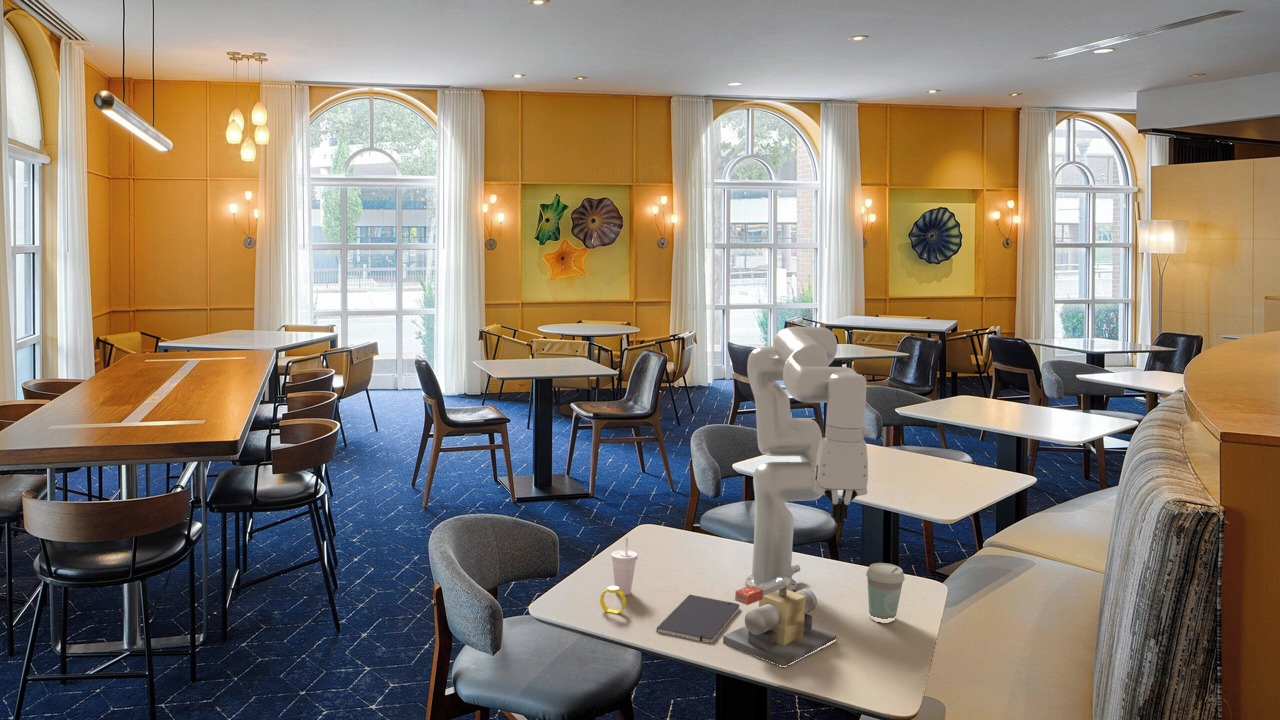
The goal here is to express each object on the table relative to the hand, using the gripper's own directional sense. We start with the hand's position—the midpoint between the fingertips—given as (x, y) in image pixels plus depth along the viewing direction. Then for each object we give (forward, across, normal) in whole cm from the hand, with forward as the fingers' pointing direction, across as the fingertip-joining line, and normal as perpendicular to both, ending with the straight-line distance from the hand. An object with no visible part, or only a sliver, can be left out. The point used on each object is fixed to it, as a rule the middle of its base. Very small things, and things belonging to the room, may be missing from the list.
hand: (838, 521), depth 191 cm
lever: (+17, +14, -2) cm, 22 cm away
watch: (+29, +46, -19) cm, 58 cm away
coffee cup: (+29, -16, -20) cm, 39 cm away
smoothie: (+29, +44, -31) cm, 61 cm away
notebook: (+30, +26, -16) cm, 43 cm away
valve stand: (+29, +10, -6) cm, 31 cm away
